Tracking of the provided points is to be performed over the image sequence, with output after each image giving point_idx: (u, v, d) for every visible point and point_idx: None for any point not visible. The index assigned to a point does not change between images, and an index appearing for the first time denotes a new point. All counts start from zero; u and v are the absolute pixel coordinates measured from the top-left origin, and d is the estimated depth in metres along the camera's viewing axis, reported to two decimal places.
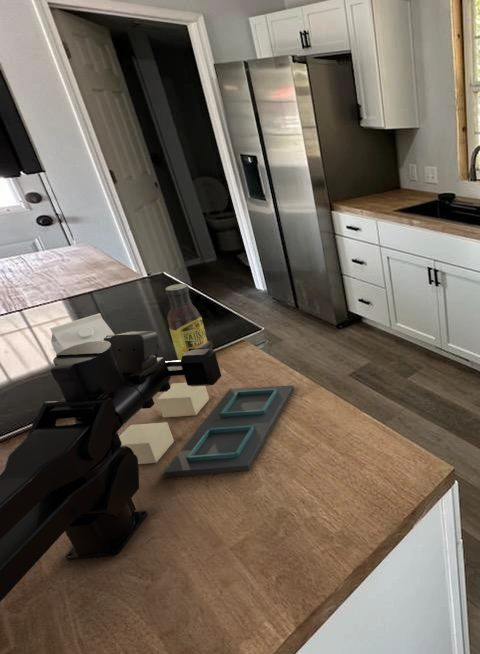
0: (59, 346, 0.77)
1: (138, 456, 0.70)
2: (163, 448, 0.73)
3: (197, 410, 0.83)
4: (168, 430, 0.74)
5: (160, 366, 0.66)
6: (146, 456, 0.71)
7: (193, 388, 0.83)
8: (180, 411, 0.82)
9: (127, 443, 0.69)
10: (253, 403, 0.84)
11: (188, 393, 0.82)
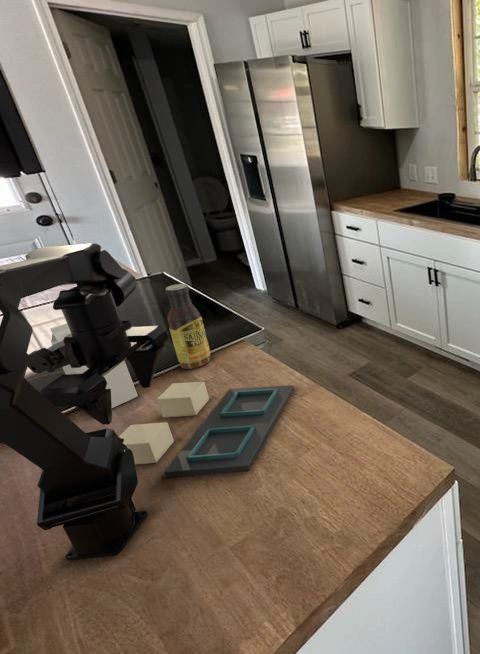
0: None
1: (138, 456, 0.70)
2: (163, 448, 0.73)
3: (197, 410, 0.83)
4: (168, 430, 0.74)
5: None
6: (146, 456, 0.71)
7: (193, 388, 0.83)
8: (180, 411, 0.82)
9: (127, 443, 0.69)
10: (253, 403, 0.84)
11: (188, 393, 0.82)
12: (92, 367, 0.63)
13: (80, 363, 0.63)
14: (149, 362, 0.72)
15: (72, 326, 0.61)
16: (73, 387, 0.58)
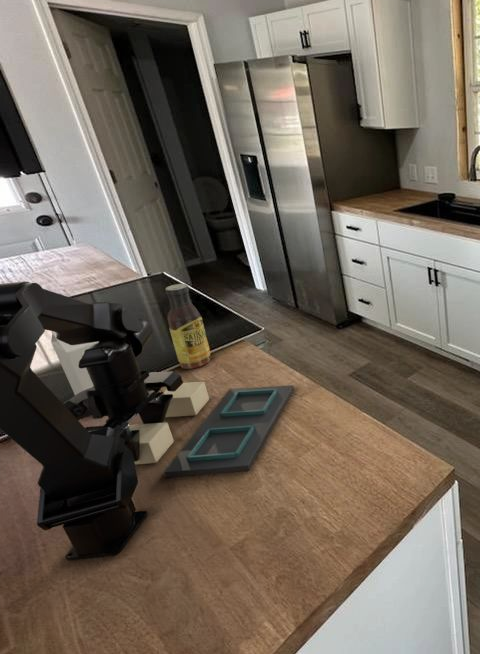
0: (59, 346, 0.77)
1: None
2: (163, 448, 0.73)
3: (197, 410, 0.83)
4: (168, 430, 0.74)
5: None
6: (145, 456, 0.71)
7: (193, 388, 0.83)
8: (180, 411, 0.82)
9: None
10: (253, 403, 0.84)
11: (188, 393, 0.82)
12: (113, 418, 0.67)
13: (102, 414, 0.66)
14: (158, 414, 0.74)
15: (95, 381, 0.64)
16: None
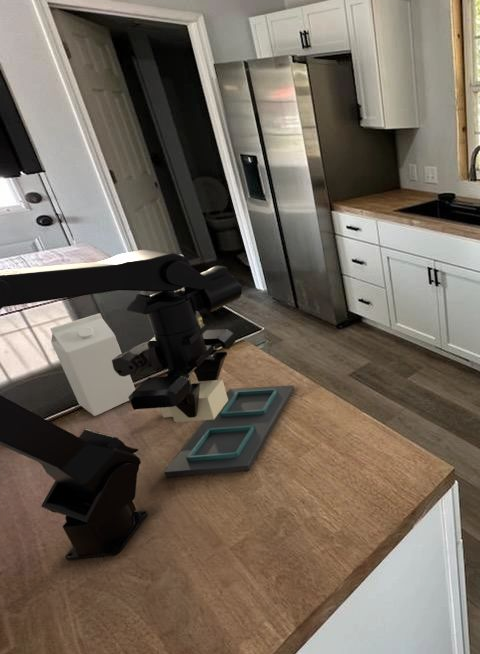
0: (59, 346, 0.77)
1: None
2: (220, 405, 0.71)
3: None
4: (223, 388, 0.72)
5: None
6: (203, 412, 0.68)
7: None
8: None
9: None
10: (253, 403, 0.84)
11: None
12: (174, 370, 0.64)
13: (162, 366, 0.64)
14: (213, 371, 0.72)
15: None
16: (163, 389, 0.59)
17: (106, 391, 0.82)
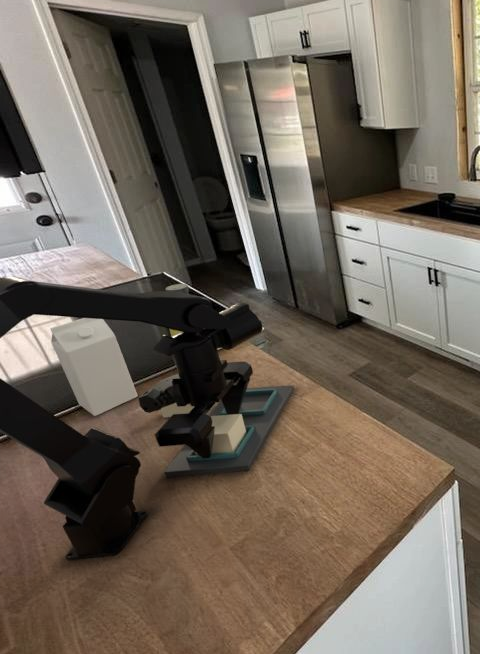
0: (59, 346, 0.77)
1: (217, 447, 0.71)
2: (239, 439, 0.74)
3: None
4: (242, 422, 0.75)
5: None
6: (224, 446, 0.71)
7: None
8: (180, 411, 0.82)
9: None
10: (253, 403, 0.84)
11: None
12: (196, 406, 0.67)
13: (185, 402, 0.67)
14: (238, 396, 0.76)
15: (176, 364, 0.66)
16: (188, 427, 0.62)
17: (106, 391, 0.82)
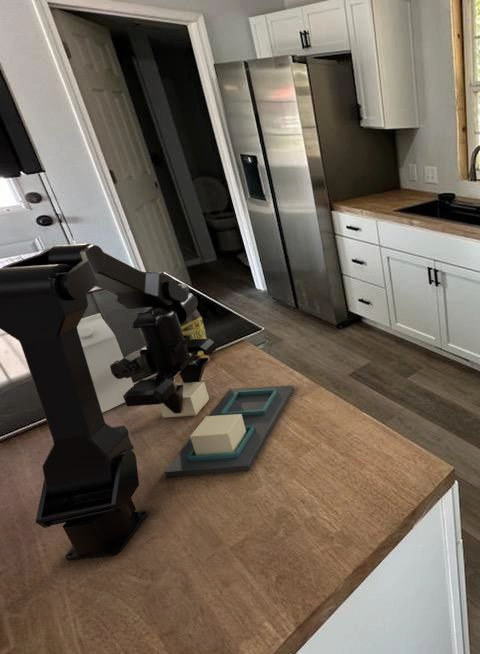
0: None
1: (217, 447, 0.71)
2: (239, 439, 0.74)
3: (197, 410, 0.83)
4: (242, 422, 0.75)
5: None
6: (224, 446, 0.71)
7: (193, 388, 0.83)
8: None
9: (206, 434, 0.70)
10: (253, 403, 0.84)
11: (188, 394, 0.82)
12: (161, 373, 0.78)
13: (152, 370, 0.77)
14: (196, 374, 0.85)
15: (146, 340, 0.75)
16: (151, 389, 0.72)
17: (106, 391, 0.82)
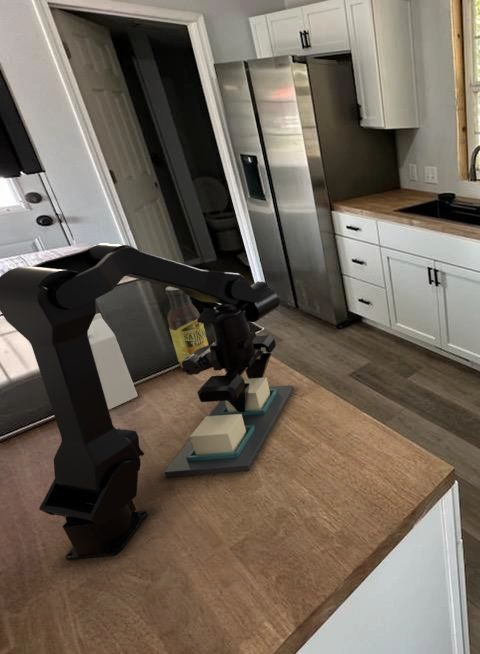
0: None
1: (217, 447, 0.71)
2: (239, 439, 0.74)
3: (261, 406, 0.83)
4: (242, 422, 0.75)
5: None
6: (224, 446, 0.71)
7: (257, 384, 0.83)
8: None
9: (206, 434, 0.70)
10: None
11: (253, 389, 0.81)
12: (230, 370, 0.78)
13: (221, 366, 0.77)
14: (261, 369, 0.86)
15: (213, 334, 0.76)
16: (225, 385, 0.72)
17: (106, 391, 0.82)
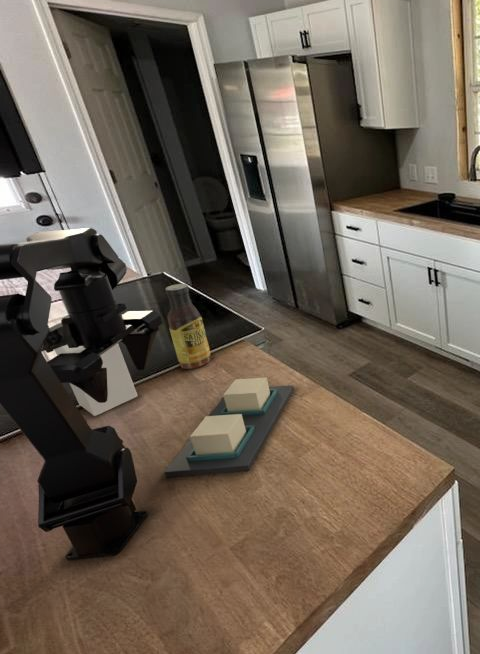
0: None
1: (217, 447, 0.71)
2: (239, 439, 0.74)
3: (261, 406, 0.83)
4: (242, 422, 0.75)
5: None
6: (224, 446, 0.71)
7: (257, 384, 0.83)
8: (245, 407, 0.81)
9: (206, 434, 0.70)
10: None
11: (253, 389, 0.81)
12: (89, 347, 0.66)
13: (77, 343, 0.66)
14: (144, 345, 0.75)
15: (71, 307, 0.63)
16: (71, 364, 0.61)
17: None
